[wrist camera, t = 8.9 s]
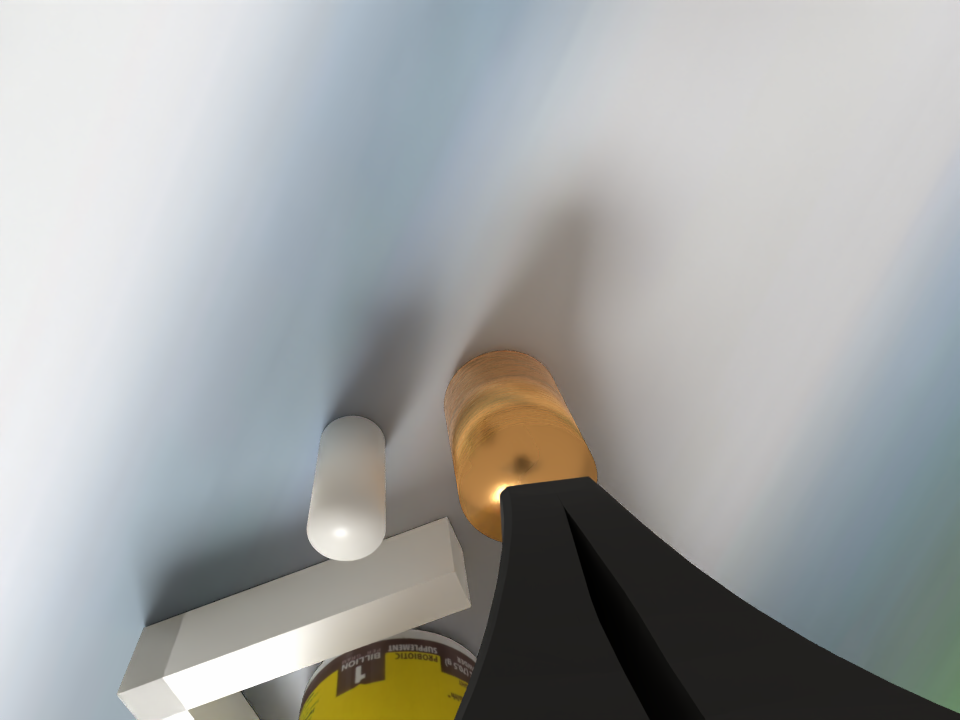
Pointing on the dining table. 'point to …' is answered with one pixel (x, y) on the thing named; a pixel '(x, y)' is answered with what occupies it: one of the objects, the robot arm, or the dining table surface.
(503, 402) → the gold-tipped lever
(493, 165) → the dining table surface
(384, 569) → the socket
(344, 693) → the supplement bottle
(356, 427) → the post
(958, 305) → the dining table surface
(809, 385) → the dining table surface
